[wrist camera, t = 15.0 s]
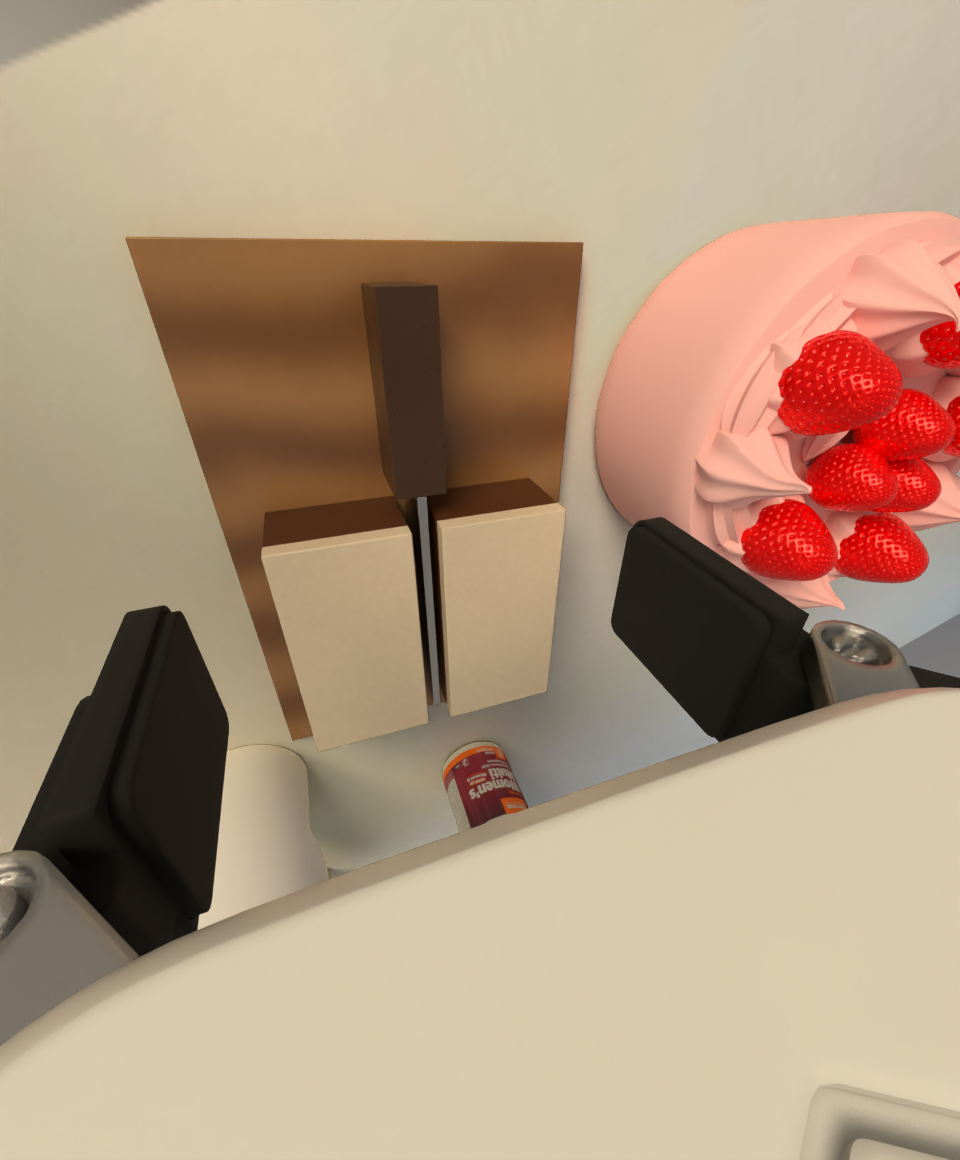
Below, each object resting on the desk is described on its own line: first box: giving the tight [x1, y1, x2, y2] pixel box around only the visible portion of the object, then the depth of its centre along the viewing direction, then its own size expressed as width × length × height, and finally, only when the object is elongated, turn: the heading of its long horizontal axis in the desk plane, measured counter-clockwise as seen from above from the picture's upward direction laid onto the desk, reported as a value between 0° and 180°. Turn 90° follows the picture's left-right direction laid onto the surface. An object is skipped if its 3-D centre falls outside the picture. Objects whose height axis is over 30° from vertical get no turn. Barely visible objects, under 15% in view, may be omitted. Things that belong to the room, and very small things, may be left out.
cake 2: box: [426, 478, 566, 717], centre depth 31 cm, size 14×7×5 cm, turn 0°
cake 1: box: [261, 496, 429, 752], centre depth 29 cm, size 14×7×5 cm, turn 0°
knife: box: [361, 282, 447, 705], centre depth 27 cm, size 24×3×4 cm, turn 0°
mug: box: [198, 745, 329, 930], centre depth 34 cm, size 8×12×12 cm
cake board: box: [126, 237, 583, 741], centre depth 30 cm, size 30×20×1 cm, turn 0°
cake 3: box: [596, 211, 960, 611], centre depth 27 cm, size 20×20×14 cm
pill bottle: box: [442, 742, 528, 833], centre depth 41 cm, size 6×6×11 cm
